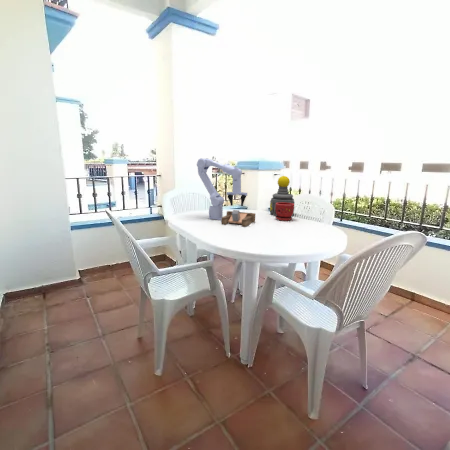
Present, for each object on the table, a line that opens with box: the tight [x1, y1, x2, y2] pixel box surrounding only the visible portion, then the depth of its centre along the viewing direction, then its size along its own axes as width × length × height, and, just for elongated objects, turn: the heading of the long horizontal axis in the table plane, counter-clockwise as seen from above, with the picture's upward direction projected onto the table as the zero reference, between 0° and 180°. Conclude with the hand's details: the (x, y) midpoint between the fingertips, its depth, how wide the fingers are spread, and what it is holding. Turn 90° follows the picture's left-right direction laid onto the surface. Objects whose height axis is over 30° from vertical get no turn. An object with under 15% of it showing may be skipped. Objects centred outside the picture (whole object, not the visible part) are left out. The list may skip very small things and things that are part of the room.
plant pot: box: [275, 202, 295, 222], centre depth 197 cm, size 13×13×12 cm
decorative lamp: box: [269, 175, 295, 217], centre depth 213 cm, size 19×19×30 cm
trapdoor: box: [228, 213, 247, 225], centre depth 185 cm, size 10×10×1 cm
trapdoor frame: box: [221, 210, 256, 228], centre depth 185 cm, size 20×16×6 cm
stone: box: [232, 209, 241, 221], centre depth 181 cm, size 4×4×6 cm
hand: (236, 205), depth 191 cm, fingers open, 7 cm apart
